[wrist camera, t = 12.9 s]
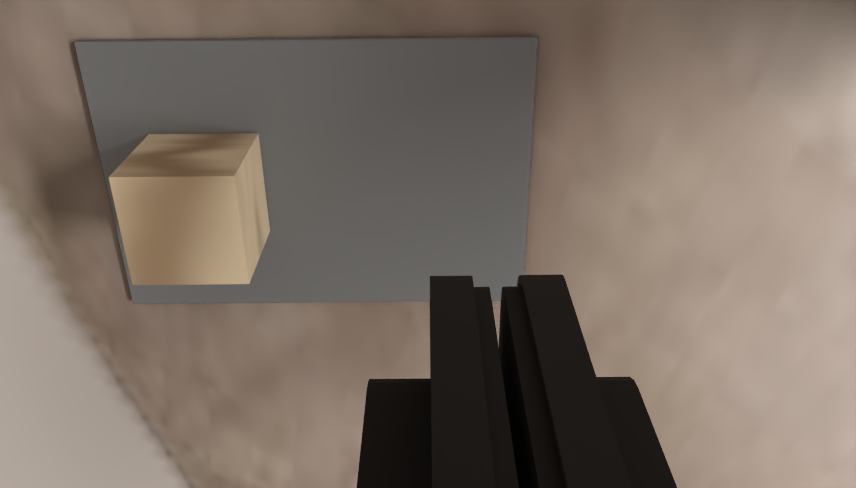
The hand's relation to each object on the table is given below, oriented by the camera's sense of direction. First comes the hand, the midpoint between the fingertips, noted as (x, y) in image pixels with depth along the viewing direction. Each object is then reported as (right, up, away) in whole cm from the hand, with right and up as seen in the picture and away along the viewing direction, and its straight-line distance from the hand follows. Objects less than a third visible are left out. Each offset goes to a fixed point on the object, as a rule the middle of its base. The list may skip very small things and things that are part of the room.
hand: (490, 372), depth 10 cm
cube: (-13, +2, +28) cm, 31 cm away
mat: (-7, +5, +34) cm, 35 cm away
